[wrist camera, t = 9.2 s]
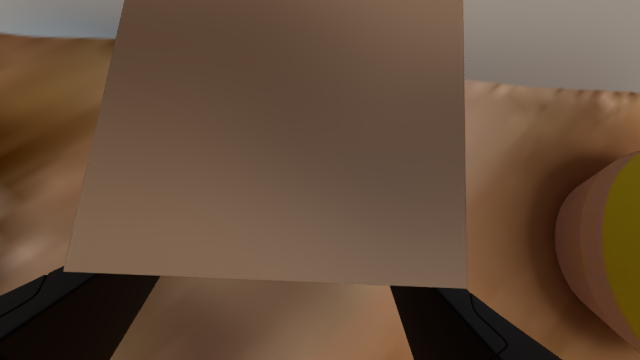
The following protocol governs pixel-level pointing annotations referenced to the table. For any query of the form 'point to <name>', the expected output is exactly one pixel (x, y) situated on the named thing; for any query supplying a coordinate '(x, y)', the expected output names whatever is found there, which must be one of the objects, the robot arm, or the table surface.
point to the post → (280, 144)
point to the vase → (605, 245)
